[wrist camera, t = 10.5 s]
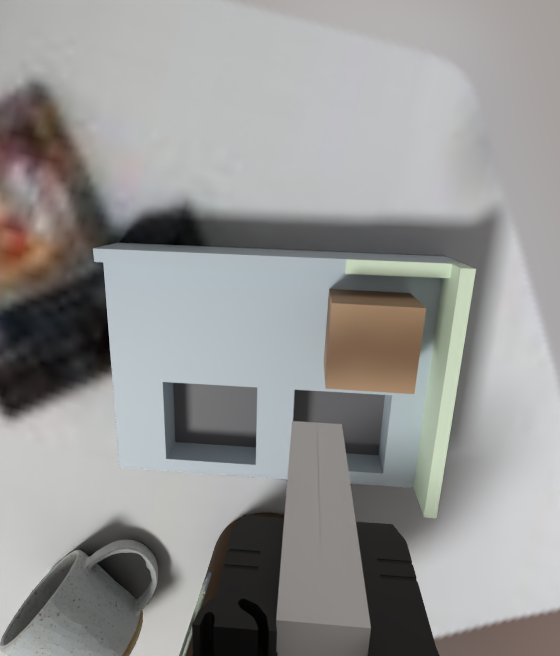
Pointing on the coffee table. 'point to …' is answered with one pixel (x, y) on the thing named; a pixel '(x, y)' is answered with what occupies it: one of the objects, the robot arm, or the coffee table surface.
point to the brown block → (373, 341)
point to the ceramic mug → (81, 609)
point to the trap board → (273, 361)
